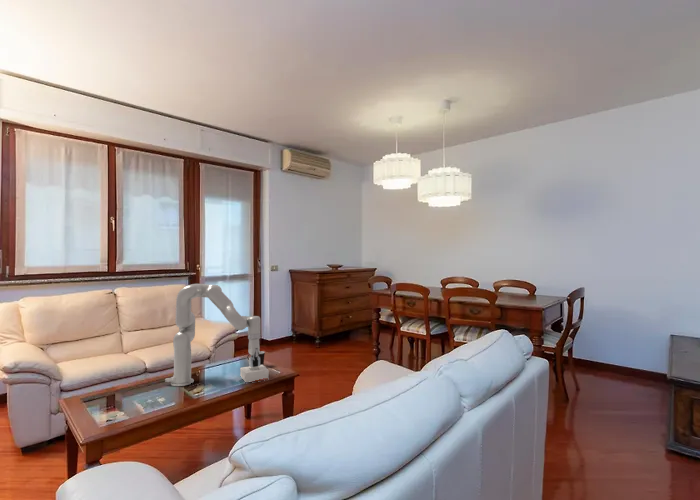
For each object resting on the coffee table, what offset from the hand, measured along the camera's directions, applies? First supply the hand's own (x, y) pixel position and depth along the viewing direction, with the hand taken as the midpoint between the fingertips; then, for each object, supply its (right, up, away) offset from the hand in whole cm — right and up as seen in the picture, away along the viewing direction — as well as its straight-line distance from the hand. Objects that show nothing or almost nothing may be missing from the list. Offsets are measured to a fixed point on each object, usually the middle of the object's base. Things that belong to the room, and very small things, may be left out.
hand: (254, 365), depth 226 cm
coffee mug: (-5, -9, +25) cm, 28 cm away
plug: (0, -5, 0) cm, 5 cm away
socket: (0, -8, 0) cm, 8 cm away
